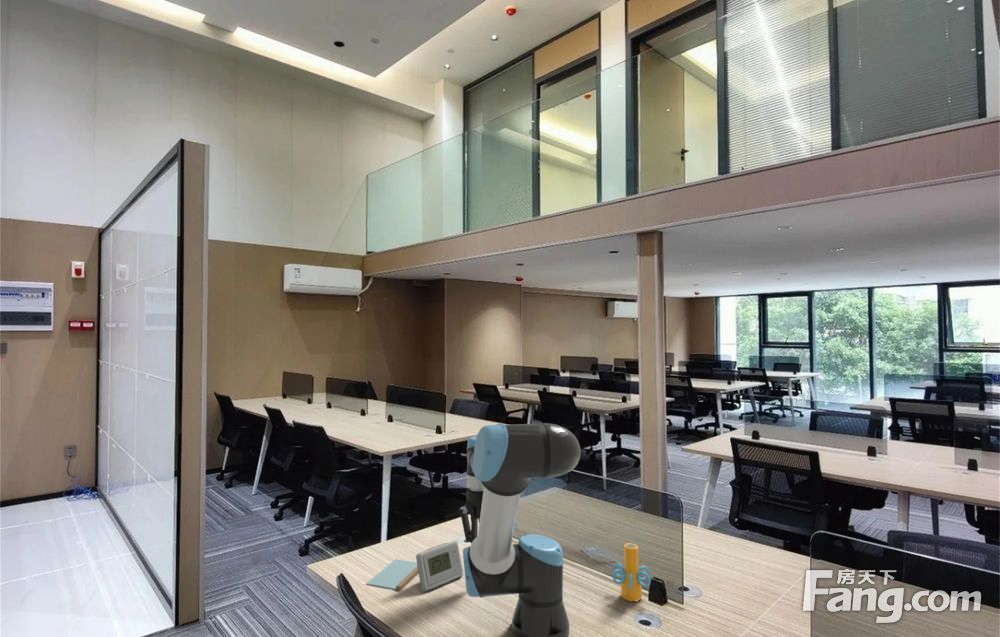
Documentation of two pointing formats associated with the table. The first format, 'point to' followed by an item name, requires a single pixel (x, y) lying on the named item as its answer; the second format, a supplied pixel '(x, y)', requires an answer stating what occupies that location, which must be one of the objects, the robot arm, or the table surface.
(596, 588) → the table surface
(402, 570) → the mat
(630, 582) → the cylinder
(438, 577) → the digital clock
